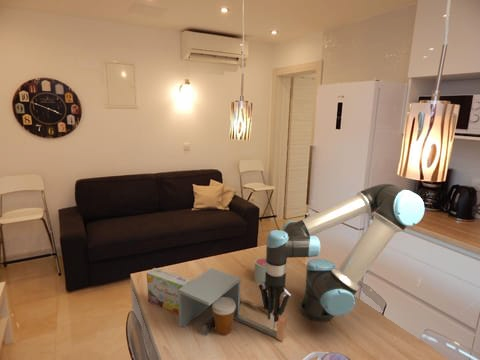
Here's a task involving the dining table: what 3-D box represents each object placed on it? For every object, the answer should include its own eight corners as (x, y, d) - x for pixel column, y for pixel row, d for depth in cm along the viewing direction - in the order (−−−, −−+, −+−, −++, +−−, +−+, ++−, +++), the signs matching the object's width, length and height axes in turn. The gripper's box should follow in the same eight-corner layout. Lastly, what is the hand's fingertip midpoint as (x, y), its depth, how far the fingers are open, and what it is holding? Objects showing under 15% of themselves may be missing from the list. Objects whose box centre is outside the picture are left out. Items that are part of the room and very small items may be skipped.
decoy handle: (274, 313, 134) (274, 296, 132) (271, 316, 132) (272, 299, 130) (234, 297, 145) (235, 282, 143) (231, 300, 143) (231, 284, 141)
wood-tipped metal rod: (285, 337, 119) (286, 319, 118) (264, 365, 106) (265, 345, 104) (227, 312, 134) (227, 295, 132) (203, 333, 121) (203, 315, 119)
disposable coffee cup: (232, 340, 118) (232, 312, 115) (208, 336, 120) (208, 308, 117) (237, 324, 127) (238, 298, 124) (215, 320, 129) (215, 294, 126)
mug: (267, 286, 155) (268, 268, 152) (251, 281, 159) (251, 263, 157) (278, 274, 166) (279, 257, 164) (263, 270, 171) (264, 253, 169)
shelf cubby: (239, 313, 133) (240, 278, 130) (209, 342, 116) (209, 302, 113) (211, 301, 142) (211, 268, 138) (179, 327, 124) (178, 289, 121)
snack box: (147, 303, 140) (145, 272, 136) (155, 296, 145) (154, 267, 141) (185, 317, 130) (184, 285, 127) (193, 310, 135) (192, 279, 132)
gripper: (296, 272, 115) (292, 328, 120) (265, 262, 122) (263, 315, 127) (287, 281, 109) (283, 339, 114) (255, 270, 116) (253, 326, 121)
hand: (272, 327), depth 120 cm, fingers closed
